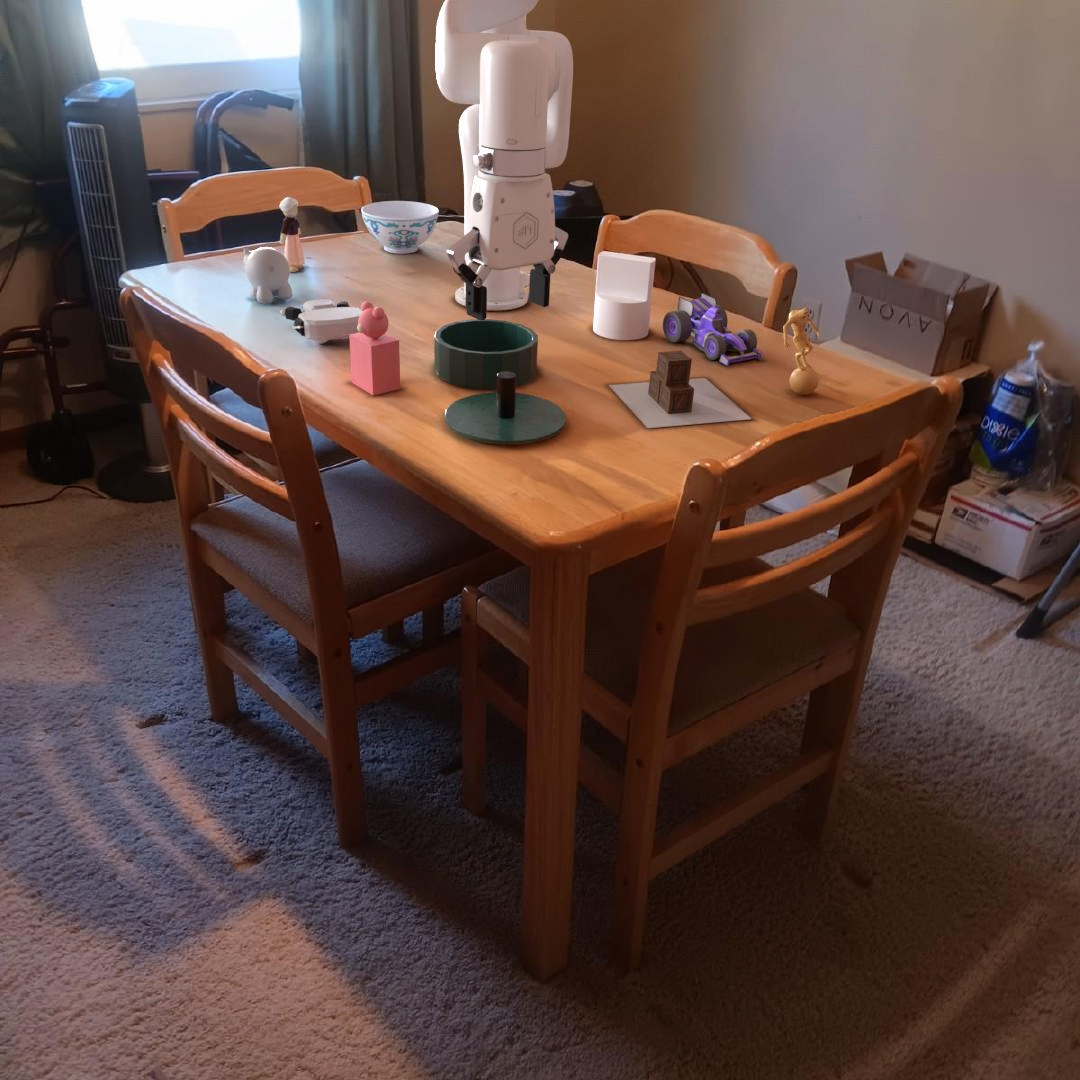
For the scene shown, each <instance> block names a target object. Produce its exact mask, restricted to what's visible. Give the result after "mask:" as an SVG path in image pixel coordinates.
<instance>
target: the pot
mask: <svg viewBox="0 0 1080 1080" xmlns="http://www.w3.org/2000/svg"><path fill="white" fill-rule="evenodd" d="M433 338H434V339H433V340H434V342H433V345H434V347H433V348H434V372H435V374H436V376H437V377H438V378H439V379H440V380H442V381H443V382H445V383H447V384H450V385H452V386H455V387H459V388H463V389H468V390H478V391H497V374H498V373H500V372H505V371H507V372H513V373H515V374H516V388H518V387H521V386H524V385H526V384H528V383H530V382H532V381H533V380H534V379H535V378H536V375H537V368H538V367H537V366H538V347H539V344H538V343H539V335H538V334H537V332H535V331H534V330H533V329H532V328H530V327H528V326H526V325H524V324H521V323H517V322H513V321H508V320H502V319H492V318H486V319H485V320H478V319H476V318H472V319H465V320H457V321H453V322H450V323H447V324H444V325H442V326H441V327H439V328H438V329H436V330H435V333H434V336H433Z"/></svg>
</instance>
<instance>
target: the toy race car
mask: <svg viewBox="0 0 1080 1080" xmlns="http://www.w3.org/2000/svg"><path fill="white" fill-rule="evenodd" d="M717 302H718V301H717V300H716V298H715V297H712V296H711V295H708V294H706V293H703V292H702V293H701V297H698V298H694V299H687V298H684V297H682V296H678V303H677V310H672V311H668V312H667V313H666V314H664V317H663V319H662V331H663V334H664V336H665V338H666V340H667V341H668V342H670V343H679V342H684V341H685V342H686V341H687V340H689V338H690V337H691V336H692V337H694V338H692V339H691V340H690V343H691V344H692V345H694V346H695V347H696V348H697V349H699V350H700V351H702V352H703V353H704V354H705V356H706V358H707V359H709V360H710V361H715V360H719V361H718V362H719V363H721V364H723V365H725V366H727V367H728V366H730V364H732V363H736V362H742V361H747V360H752V359H757V360H759V361H761V360H762V356H763V353H761V352H760V351H759V350H758V349H757V346H758V338H757V334H756V333H755V332H754V331H753V330H752V329H749V328H747V329H741V330H739V331H737V333H733V332H732V330H730V329H729V328H728V321H729V320H728V314H727V312H726V310H725V308H724V307H723V306H722V305H720V304H718V303H717ZM726 352H738V353H739V355H734V356H727V355H726Z"/></svg>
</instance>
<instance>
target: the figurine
mask: <svg viewBox="0 0 1080 1080" xmlns="http://www.w3.org/2000/svg"><path fill="white" fill-rule="evenodd" d="M808 323H809V325H810V327H811V328H812V329H813V330H814V331H815V333H816V335H817V339H821V336H820V333H819V330H818V327H817V326H816V325H815V323H814V322H813V320H812V318H811V317H810V316H809V309H808V308H802V309H794V310H791V311H790V312H789V314H788V320H787V322H786V323H784V325H783V326H782V327H783V328H782V331H783V348H784V350H785V351H788V350H790V348H789V347H790V346H791V345H790V344H789V342H788V328H789V327H790V326H791V328H792V331H793V335H794V336H793V337H792V341H793V344H794V346H795V347H796V349H797V350H798V352H796V353H795V362H796V365H797V368H795V369H794V370H793V371H792V372H791V374H790V376H789V387H790V389H791V390H792V391H793V392H794V393H795V394H798V395H800V396H806V395H810V394H812V393H813V392H814V391H815V390H816V389H817V387H818V385H819V376H818V373H817V371H816V370H815V369H813V368H812V366H811V365H810V364H809V363H808V362H807V359H806V357H805V356H807V355H808V354H809V353H811V352H812V351H813V348H814V347H813V345H812V343H811V342H810V339H809V337H808V334H807V332H806V331H805V329H806V327H807V325H808ZM800 358H801V359H800ZM801 362H802V363H801Z"/></svg>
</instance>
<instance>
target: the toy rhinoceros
mask: <svg viewBox="0 0 1080 1080" xmlns="http://www.w3.org/2000/svg"><path fill="white" fill-rule="evenodd" d="M243 254H244V257H243V263H242V264H243V271H244V273H245V276H246V279H247V281H248V282H249V283H250V284H251V285H250V288H249V297H250V298H251V299H254V300H256V301H257V303H259V304H271V303H272V302H273V301H274V297H277V298H278V299H279V300H285V301H286V300H290V299H292V297H293V289H292V287H291V284H290V283H289V278H290V274H291V272H290V268H289V264H288V261H287V259H286V258H285V254H283V253H282V252H281V251H279V250H277V249H275V248H273V247H268V246H265V247H264V246H263V245H261V246H260V247H259V248H257V249H254V250H249V249H248V248H246V247H244V248H243Z"/></svg>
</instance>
